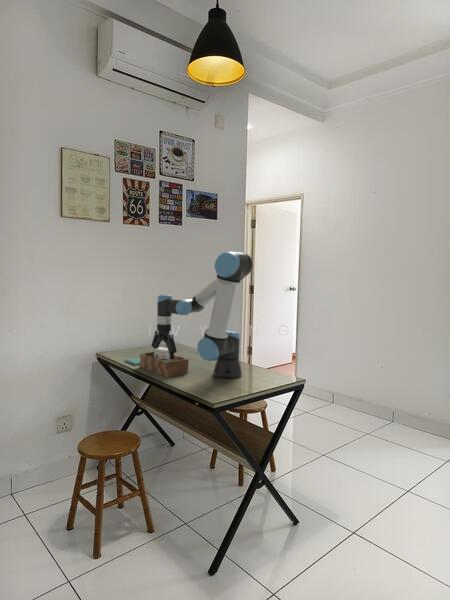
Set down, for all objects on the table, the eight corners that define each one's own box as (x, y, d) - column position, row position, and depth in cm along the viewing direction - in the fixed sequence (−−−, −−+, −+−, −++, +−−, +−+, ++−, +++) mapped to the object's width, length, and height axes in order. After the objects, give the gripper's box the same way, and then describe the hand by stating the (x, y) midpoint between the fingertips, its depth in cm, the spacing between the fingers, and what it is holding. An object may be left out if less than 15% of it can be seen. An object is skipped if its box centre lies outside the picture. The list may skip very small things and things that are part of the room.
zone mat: (154, 362, 241) (154, 360, 241) (135, 365, 233) (135, 363, 233) (143, 358, 250) (143, 356, 250) (125, 361, 242) (125, 359, 242)
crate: (188, 372, 221) (188, 358, 220) (166, 377, 211) (167, 362, 211) (160, 363, 239) (160, 350, 239) (140, 367, 230) (140, 353, 229)
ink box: (154, 369, 225) (154, 348, 224) (159, 367, 230) (160, 346, 228) (167, 372, 221) (167, 350, 220) (173, 370, 226) (173, 348, 224)
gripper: (183, 326, 216) (182, 366, 219) (157, 319, 235) (156, 357, 237) (172, 327, 211) (171, 368, 214) (145, 320, 230) (144, 358, 232)
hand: (163, 362), depth 225 cm, fingers open, 13 cm apart
